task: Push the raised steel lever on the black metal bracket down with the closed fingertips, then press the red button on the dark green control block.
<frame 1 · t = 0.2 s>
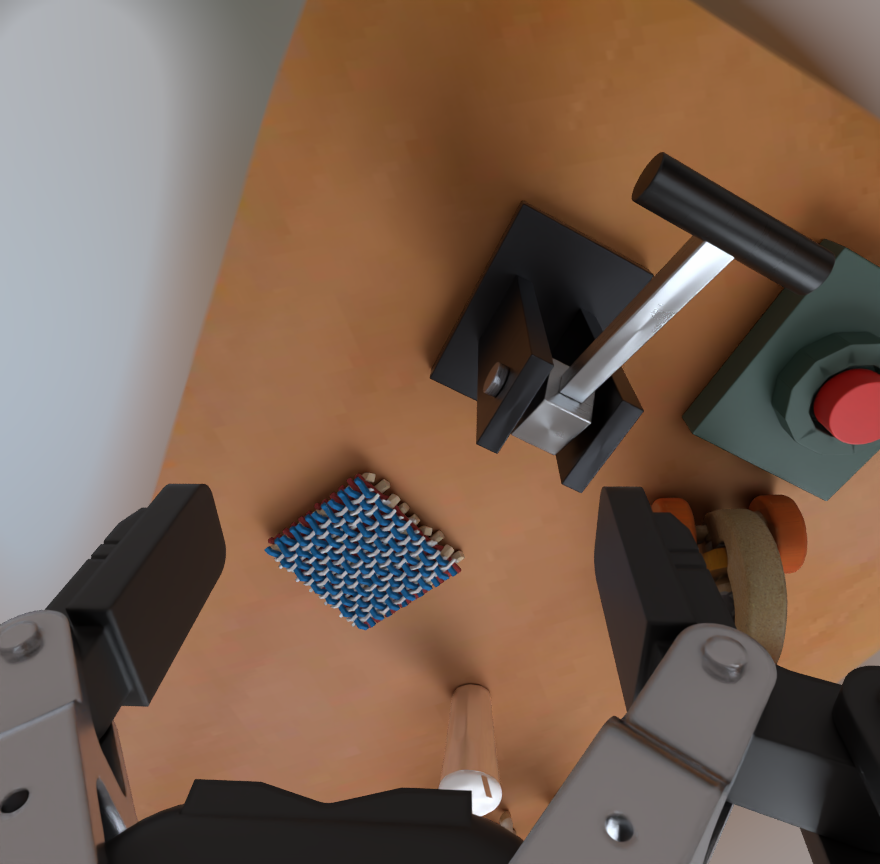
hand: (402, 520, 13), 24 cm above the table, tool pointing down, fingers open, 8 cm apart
toy helicopter: (697, 577, 44), on the table
button: (858, 406, 32), point 5 cm above the table, slide at 0.2 cm
woven mat: (368, 545, 44), on the table
bracket: (534, 322, 35), on the table
lever: (621, 339, 22), point 13 cm above the table, hinge at 25.0°
button block: (816, 372, 36), on the table
milkshake: (474, 691, 51), on the table
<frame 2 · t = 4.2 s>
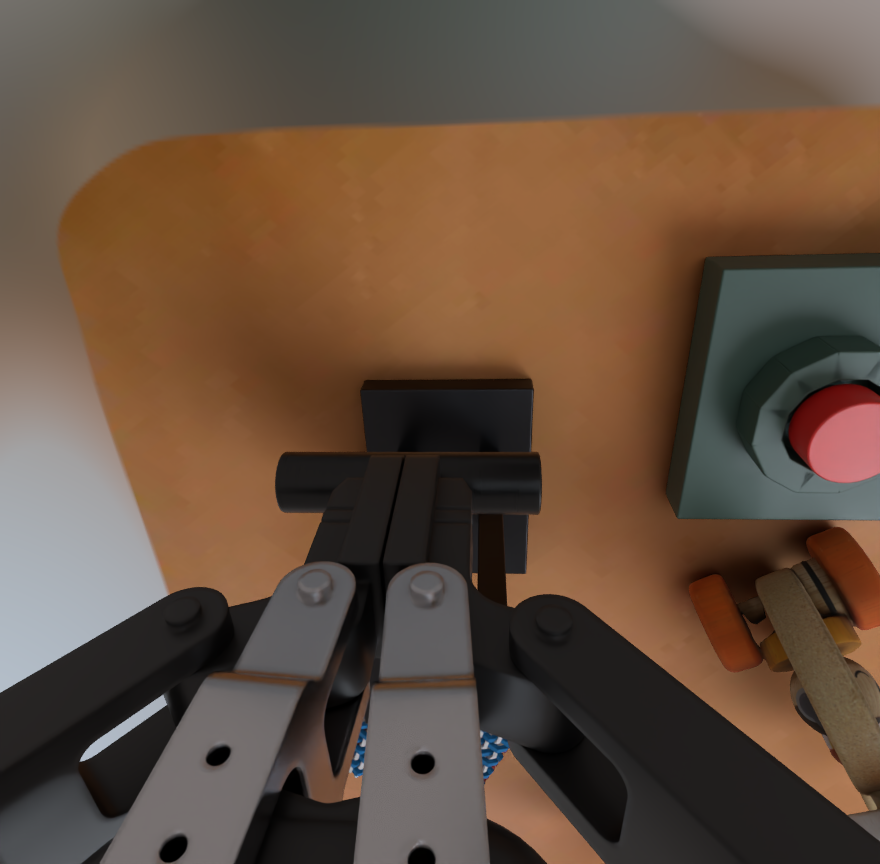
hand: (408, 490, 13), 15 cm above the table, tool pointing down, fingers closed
toy helicopter: (797, 634, 36), on the table
button: (845, 433, 24), point 5 cm above the table, slide at 0.2 cm
woven mat: (429, 721, 41), on the table
bracket: (450, 476, 32), on the table
lever: (426, 584, 18), point 13 cm above the table, hinge at 21.5°, touching gripper
button block: (794, 386, 28), on the table
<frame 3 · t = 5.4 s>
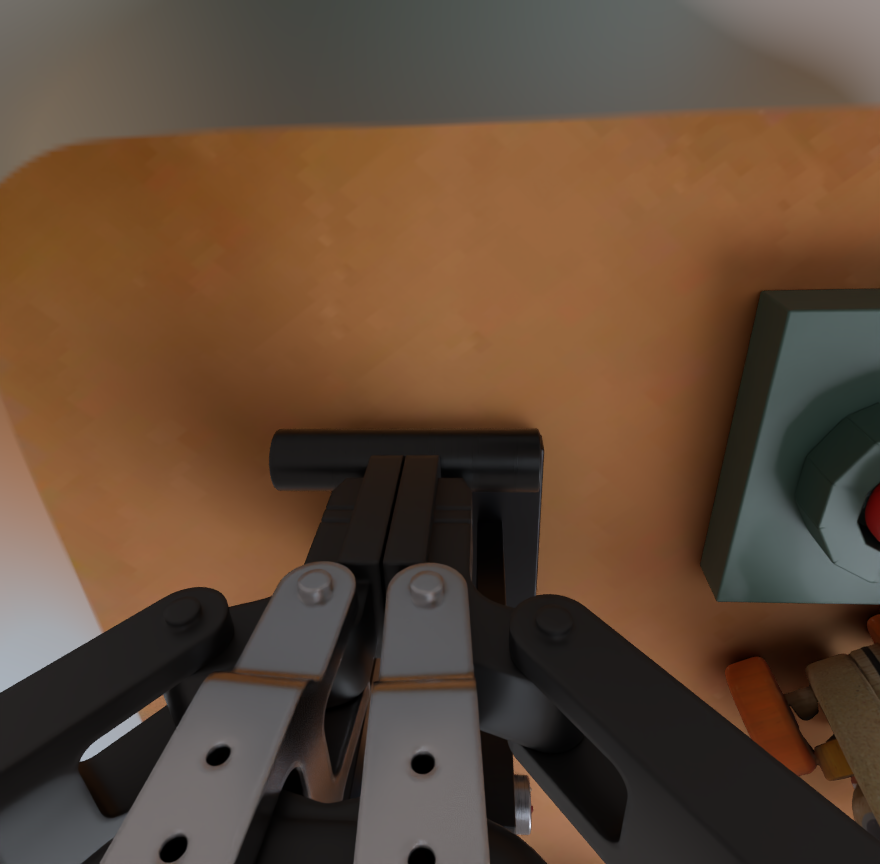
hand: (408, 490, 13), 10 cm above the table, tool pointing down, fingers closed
toy helicopter: (848, 718, 31), on the table
bracket: (443, 543, 26), on the table
lever: (414, 657, 16), point 10 cm above the table, hinge at -12.1°, touching gripper
button block: (862, 444, 23), on the table
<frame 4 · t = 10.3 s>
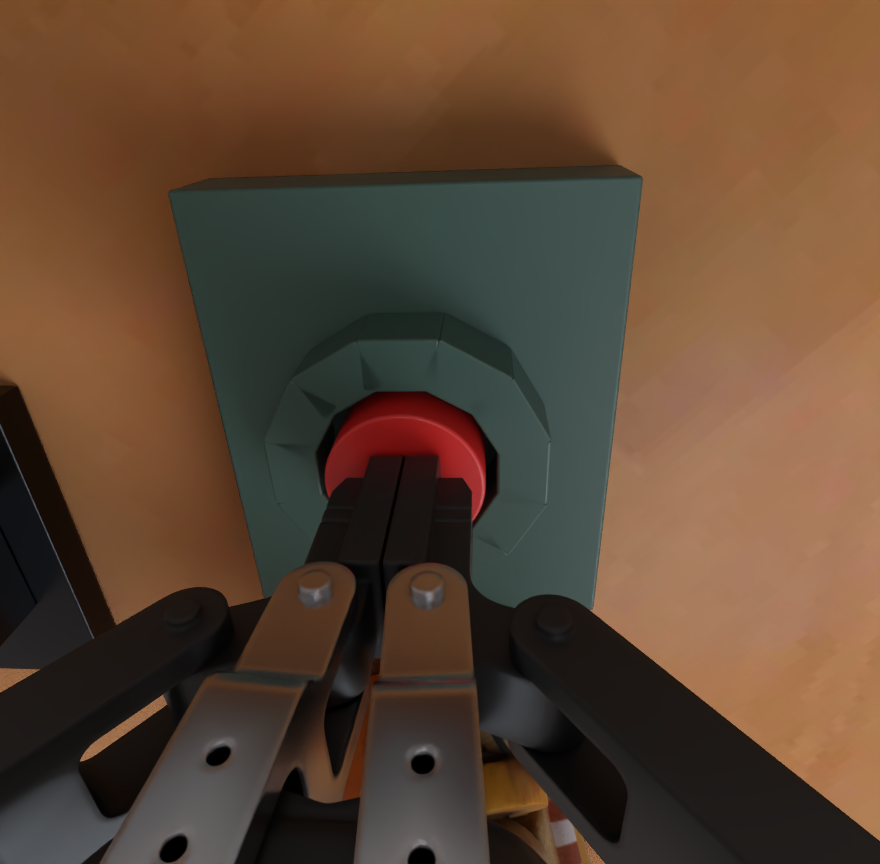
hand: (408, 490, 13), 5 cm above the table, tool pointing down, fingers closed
toy helicopter: (538, 745, 25), on the table
button: (408, 466, 14), point 4 cm above the table, slide at -0.7 cm, touching gripper
button block: (422, 397, 17), on the table
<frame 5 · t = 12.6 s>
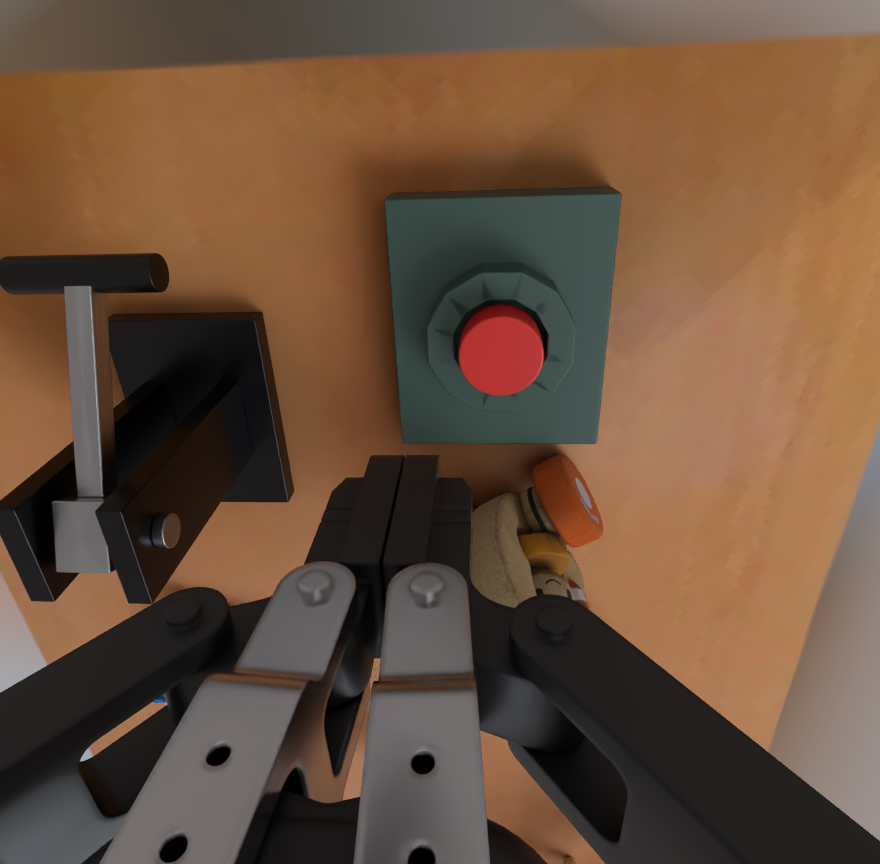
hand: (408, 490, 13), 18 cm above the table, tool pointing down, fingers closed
toy helicopter: (560, 565, 38), on the table
button: (500, 350, 26), point 5 cm above the table, slide at 0.1 cm
bracket: (210, 408, 34), on the table
lever: (93, 413, 24), point 9 cm above the table, hinge at -22.8°
button block: (498, 318, 30), on the table
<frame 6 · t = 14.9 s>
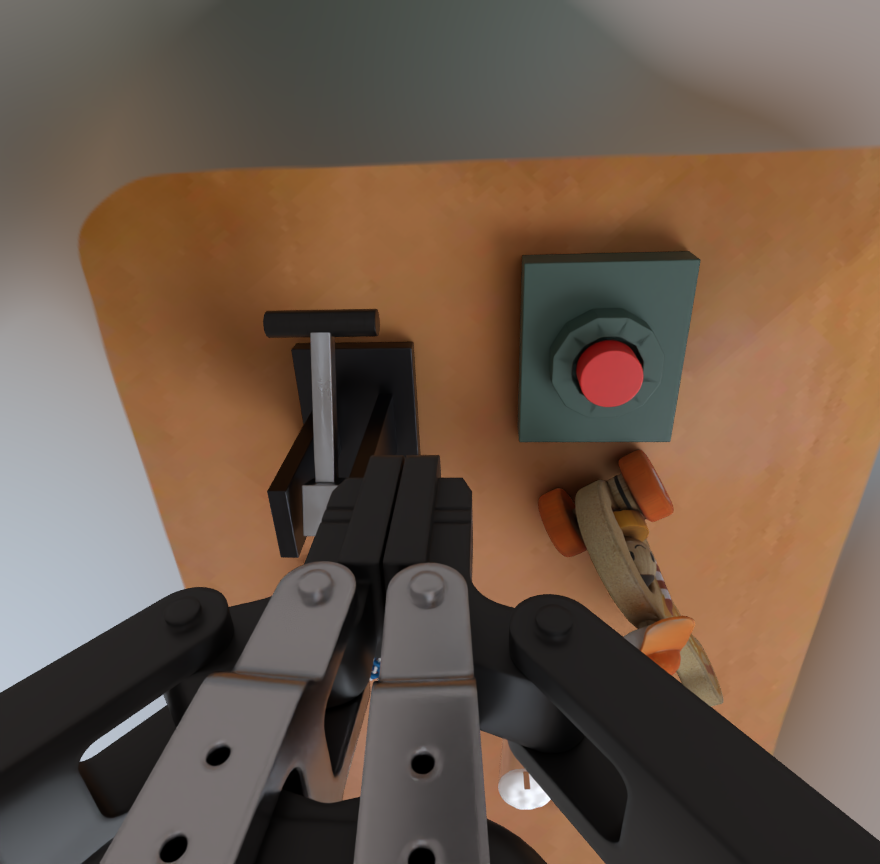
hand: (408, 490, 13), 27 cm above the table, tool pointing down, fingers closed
toy helicopter: (630, 538, 47), on the table
button: (608, 373, 36), point 5 cm above the table, slide at 0.1 cm
bracket: (362, 415, 43), on the table
lever: (325, 422, 33), point 9 cm above the table, hinge at -22.8°
button block: (596, 346, 40), on the table
milkshake: (520, 698, 57), on the table
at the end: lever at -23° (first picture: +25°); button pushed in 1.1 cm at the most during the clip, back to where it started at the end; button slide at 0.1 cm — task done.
